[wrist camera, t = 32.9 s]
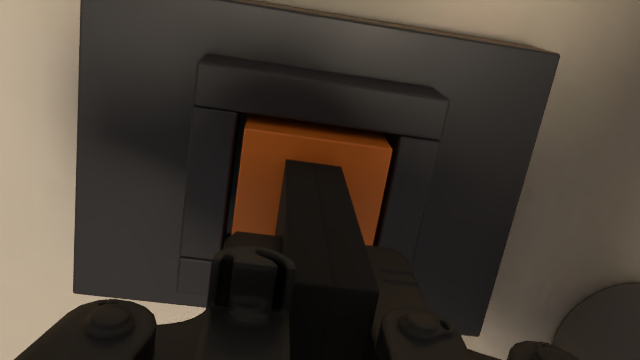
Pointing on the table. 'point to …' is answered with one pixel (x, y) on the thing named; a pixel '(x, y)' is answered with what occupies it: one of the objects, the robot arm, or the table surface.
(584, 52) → the table surface
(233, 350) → the robot arm
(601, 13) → the table surface
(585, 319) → the bottle
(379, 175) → the orange square block
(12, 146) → the table surface
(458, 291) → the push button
